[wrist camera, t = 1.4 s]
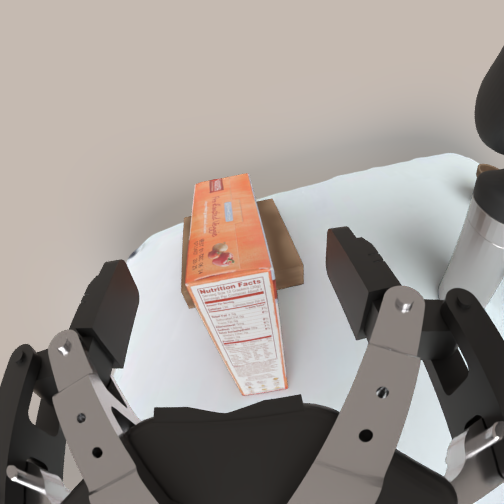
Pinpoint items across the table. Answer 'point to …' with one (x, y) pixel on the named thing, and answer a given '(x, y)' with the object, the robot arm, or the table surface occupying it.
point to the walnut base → (279, 246)
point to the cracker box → (236, 283)
